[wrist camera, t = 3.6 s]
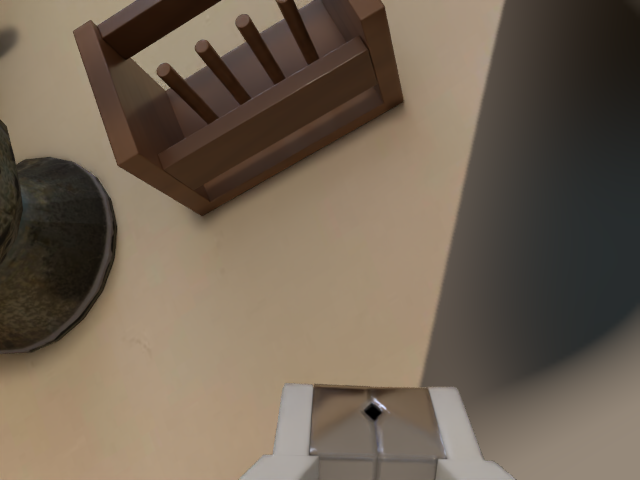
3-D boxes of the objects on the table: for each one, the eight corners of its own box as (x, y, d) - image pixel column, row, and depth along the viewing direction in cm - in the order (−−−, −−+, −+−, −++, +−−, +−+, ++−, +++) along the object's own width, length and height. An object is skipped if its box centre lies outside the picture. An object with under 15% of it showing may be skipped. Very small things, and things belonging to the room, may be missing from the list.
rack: (404, 102, 28) (385, 5, 21) (202, 216, 30) (117, 166, 22) (339, -3, 31) (302, -119, 24) (159, 107, 33) (71, 30, 26)
